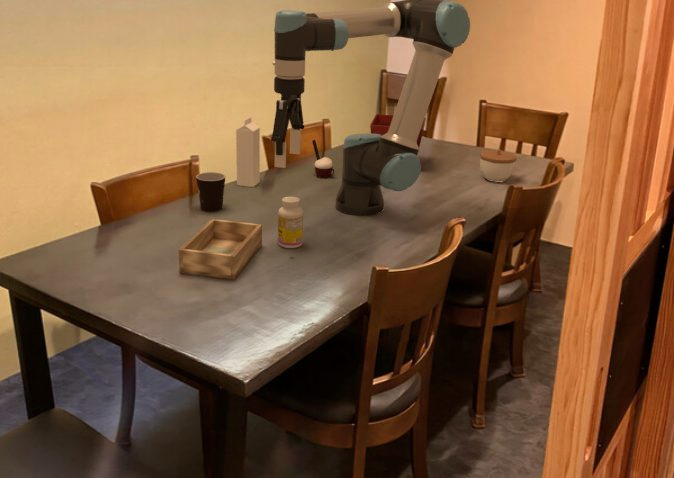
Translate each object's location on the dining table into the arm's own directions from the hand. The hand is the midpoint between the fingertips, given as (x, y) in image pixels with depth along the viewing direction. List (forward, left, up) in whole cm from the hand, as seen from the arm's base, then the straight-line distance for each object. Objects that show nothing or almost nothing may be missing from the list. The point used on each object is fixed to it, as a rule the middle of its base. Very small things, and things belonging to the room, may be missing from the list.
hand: (287, 160), depth 181 cm
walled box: (+13, +14, -23) cm, 30 cm away
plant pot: (-19, -87, -23) cm, 92 cm away
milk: (+26, -47, -23) cm, 58 cm away
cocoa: (+4, -64, -23) cm, 68 cm away
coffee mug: (+29, -22, -23) cm, 43 cm away
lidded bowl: (-56, -80, -23) cm, 100 cm away
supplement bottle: (-1, 0, -23) cm, 23 cm away
